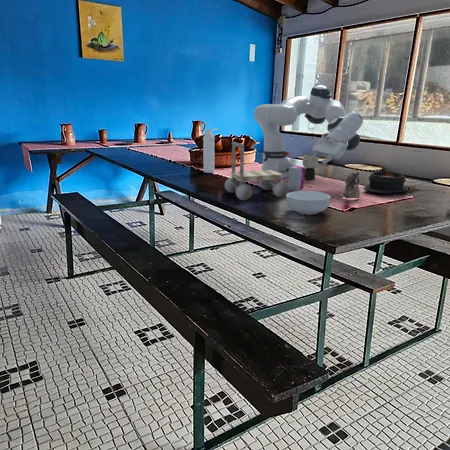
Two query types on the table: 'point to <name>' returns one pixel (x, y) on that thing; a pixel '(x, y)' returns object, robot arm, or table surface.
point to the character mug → (310, 166)
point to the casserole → (386, 182)
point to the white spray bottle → (208, 151)
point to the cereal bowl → (308, 201)
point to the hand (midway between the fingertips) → (317, 161)
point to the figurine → (352, 186)
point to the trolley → (253, 178)
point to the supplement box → (296, 178)
